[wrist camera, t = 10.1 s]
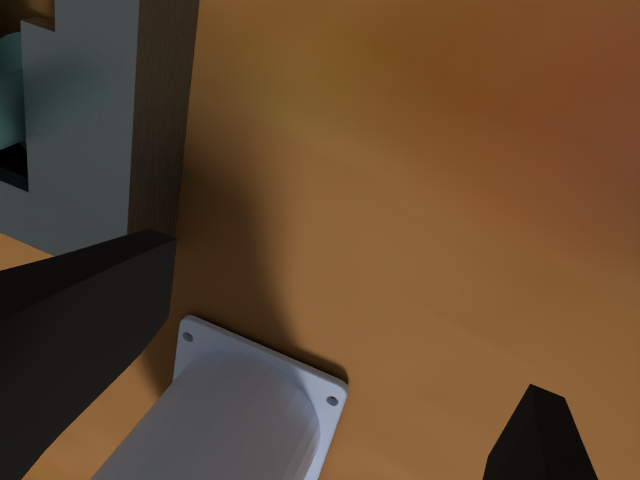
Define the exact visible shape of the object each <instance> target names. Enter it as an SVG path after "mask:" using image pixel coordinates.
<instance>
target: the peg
mask: <svg viewBox="0 0 640 480" xmlns="http://www.w3.org/2000/svg"><path fill="white" fill-rule="evenodd" d="M16 143H19V144H20V145H22V146H23V147H24V148H25V149H27V144H26V124H25V104H24V83H23V63H22V43H21V32H16V33H11V34H8V35H6V36H4V37H3V38H1V39H0V150H1V149H4V148H6V147H9V146H11V145H14V144H16Z"/></svg>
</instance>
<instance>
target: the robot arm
mask: <svg viewBox="0 0 640 480" xmlns="http://www.w3.org/2000/svg"><path fill="white" fill-rule="evenodd" d="M176 244H177V239H176V238H173V237H171V236H168V235H166V234H163V233H161V232H158V231H156V230H154V229H146V230H142V231H138V232H135V233H131V234H128V235H124V236H121V237H118V238H114V239H111V240H108V241H105V242H101V243H98V244H95V245H92V246H88V247H85V248H82V249H78V250H75V251H72V252H68V253H65V254H62V255H58V256H55V257H51V258H48V259H44V260H40V261H36V262H32V263H29V264H25V265H21V266H17V267H13V268H9V269H5V270H1V271H0V480H21V479H22V478H23V477H24V476H25V474H26V473H27V472H28V471H29V469H30V468H31V467H32V466H33V465H34V463H35V462H36V461H37V460H38V459H39V457H40V456H41V455H42V454H43V453H44V451H45V450H46V449H47V448H48V447H49V446H50V445H51V444H52V443H53V442H54V441H55V439H56V438H57V437H58V436H59V435H60V434H61V433H62V432H63V431H64V430H65V429H66V428H67V427H68V426H69V425H70V424H71V423H72V422H73V421H74V420H75V419H76V418H77V417H78V416H79V415H80V414H81V413H82V412H83V411H84V410H85V409H86V408H87V407H88V406H89V405H90V404H91V403H92V402H93V401H94V400H95V399H96V398H97V397H98V396H99V395H100V394H101V393H102V392H103V391H104V390H105V389H106V388H107V387H108V386H109V385H110V384H111V383H112V382H113V381H114V380H115V379H116V378H117V377H118V376H119V375H120V374H121V373H122V372H123V371H124V370H125V369H126V368H127V367H128V366H129V365H130V364H131V363H132V362H133V361H134V360H135V359H136V358H137V357H138V356H139V355H140V354H141V353H142V351H143V350H144V349H145V347H146V346H147V345H148V344H149V342H150V341H151V340H152V339H153V337H154V336H155V335H156V333H157V332H158V330H159V329H160V328H161V326H162V325H163V324H164V322H165V321H166V320H167V318H168V317H169V309H170V299H171V290H172V281H173V272H174V262H175V253H176ZM188 333H189V334H191V335H192V336H190V335H189V334H188ZM348 392H349V388H348V386H347V384H346V383H345V382H344V381H342V380H340V379H338V378H336V377H334V376H331V375H329V374H327V373H324V372H322V371H320V370H317V369H315V368H313V367H311V366H308V365H306V364H304V363H301V362H299V361H297V360H294V359H292V358H290V357H288V356H285V355H283V354H281V353H278V352H276V351H274V350H271V349H269V348H267V347H264V346H262V345H260V344H258V343H255V342H253V341H251V340H248V339H246V338H244V337H241V336H239V335H237V334H235V333H232V332H230V331H228V330H225V329H223V328H221V327H218V326H216V325H214V324H211V323H209V322H207V321H205V320H202V319H200V318H198V317H195V316H192V315H187V316H185V317H184V318H183V319H182V320H181V322H180V325H179V333H178V341H177V349H176V358H175V366H174V374H173V382H172V384H171V385H170V386H169V387H168V388H167V390H166V391H165V392H164V393H163V394H162V395H161V397H160V398H159V399H158V400H157V401H156V403H155V404H154V405H153V406H152V407H151V408H150V410H149V411H148V412H147V413H146V414H145V415H144V417H143V418H142V419H141V420H140V421H139V423H138V424H137V425H136V426H135V427H134V428H133V430H132V431H131V432H130V433H129V434H128V435H127V437H126V438H125V439H124V440H123V441H122V442H121V444H120V445H119V446H118V447H117V448H116V450H115V451H114V452H113V453H112V454H111V455H110V457H109V458H108V459H107V460H106V461H105V462H104V464H103V465H102V466H101V467H100V468H99V470H98V471H97V472H96V473H95V474H94V475H93V477H92V478H91V479H90V480H318V478H319V475H320V472H321V469H322V466H323V463H324V461H325V458H326V455H327V452H328V449H329V446H330V444H331V441H332V438H333V435H334V432H335V429H336V426H337V424H338V421H339V418H340V415H341V412H342V409H343V407H344V404H345V401H346V398H347V395H348ZM331 396H332V397H335V398H336V399H337V400H335V399H333V398H331ZM483 480H598V478H597V476H596V473H595V471H594V469H593V466H592V464H591V461H590V459H589V457H588V454H587V452H586V449H585V447H584V444H583V442H582V439H581V437H580V434H579V432H578V429H577V427H576V424H575V422H574V419H573V417H572V414H571V412H570V409H569V407H568V405H567V402H566V400H565V398H564V397H562V396H559V395H557V394H554V393H552V392H549V391H547V390H545V389H542V388H540V387H537V386H535V385H532V384H530V385H529V387H528V389H527V390H526V392H525V394H524V395H523V397H522V399H521V401H520V402H519V404H518V406H517V408H516V409H515V411H514V413H513V414H512V416H511V418H510V420H509V421H508V423H507V425H506V426H505V428H504V430H503V432H502V433H501V435H500V437H499V439H498V440H497V442H496V444H495V445H494V447H493V449H492V451H491V452H490V454H489V456H488V459H487V463H486V467H485V472H484V476H483Z"/></svg>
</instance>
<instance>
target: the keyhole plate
mask: <svg viewBox="0 0 640 480" xmlns="http://www.w3.org/2000/svg"><path fill="white" fill-rule="evenodd" d="M198 8H199V0H55V22H52V21H49V20H46V19H44V18H41V17H36V18H30V19H25V20H20V23H21V43H22V63H23V83H24V104H25V124H26V144H27V164H28V166H26V165H24V164H21V163H19V162H16V161H14V160H11V159H9V158H7V157H4V156H2V155H0V233H2V234H5V235H7V236H9V237H12V238H14V239H16V240H19V241H21V242H23V243H25V244H28V245H30V246H32V247H35V248H37V249H39V250H42V251H44V252H46V253H48V254H51V255H53V256H58V255H62V254H65V253H68V252H72V251H75V250H78V249H82V248H85V247H88V246H92V245H95V244H98V243H101V242H105V241H108V240H111V239H114V238H118V237H121V236H124V235H128V234H131V233H135V232H138V231H142V230H146V229H154V230H156V231H158V232H161V233H163V234H166V235H168V236H171V237H173V238H174V236H175V227H176V217H177V208H178V198H179V189H180V179H181V170H182V160H183V151H184V141H185V132H186V122H187V112H188V103H189V93H190V84H191V74H192V65H193V55H194V46H195V36H196V27H197V17H198Z"/></svg>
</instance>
